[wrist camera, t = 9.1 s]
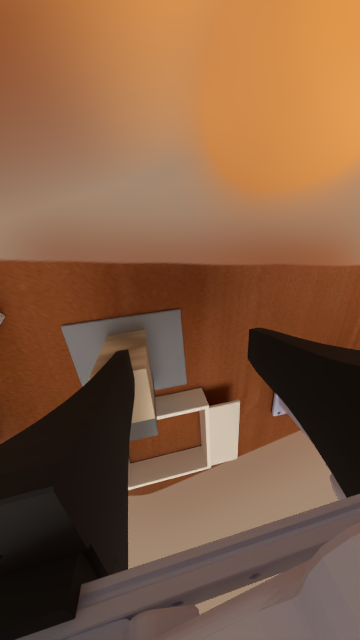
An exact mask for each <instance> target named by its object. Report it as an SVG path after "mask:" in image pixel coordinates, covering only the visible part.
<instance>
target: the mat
mask: <svg viewBox="0 0 360 640" xmlns="http://www.w3.org/2000/svg"><path fill="white" fill-rule="evenodd" d="M61 329H62V331H63V334H64V337H65V340H66V343H67V345H68V348H69V351H70V354H71V356H72V359H73V362H74V365H75V368H76V370H77V373H78V376H79V379H80V381H81V384H82V387H83V386H84V385H85V384H86V383H87V382H88V381H89V377H90V374H91V372H92V370H93V367H94V365H95V363H96V360H97V358H98V355H99V353H100V351H101V348H102V346H103V344H104V341H105V339H106V336H107V335H114V334H121V333H127V332H134V331H141V330H145V331H146V337H147V343H148V349H149V355H150V361H151V367H152V373H153V379H154V388H155V390H158V389H163V388H168V387H173V386H178V385H183V384H187V379H186V368H185V357H184V346H183V335H182V323H181V312H180V309H174V310H167V311H160V312H153V313H146V314H138V315H131V316H124V317H117V318H110V319H103V320H96V321H89V322H81V323H74V324H67V325H62V326H61Z"/></svg>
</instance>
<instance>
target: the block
mask: <svg viewBox="0 0 360 640" xmlns="http://www.w3.org/2000/svg"><path fill="white" fill-rule="evenodd" d="M126 349H128V351H129V355H130V360H131V364H132V369H133V373H134V378H135V399H134V407H133V415H132V423H131V431H130V441H134V440H138V439H142V438H147V437H151V436H156V435H158V426H157V414H156V401H155V388H154V379H153V373H152V367H151V361H150V355H149V349H148V343H147V337H146V331H145V330H141V331H134V332H127V333H121V334H114V335H107V336H106V339H105V341H104V344H103V346H102V348H101V351H100V353H99V355H98V358H97V360H96V363H95V365H94V367H93V370H92V372H91V374H90V377H89V380H90V379H91V378H92V377H93V376H94V375H95V374H96V373H97V372H98V371H99V370H100V369H101V368H102V367H103V366H104V365H105V364H106V362H107V361H108V360H109V359H110V358H111V357H112V356H113V355H114V353H115V352H116V351H120V350H126Z"/></svg>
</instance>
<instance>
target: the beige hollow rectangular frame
mask: <svg viewBox="0 0 360 640" xmlns="http://www.w3.org/2000/svg"><path fill="white" fill-rule="evenodd" d="M155 401H156V414H157V420H158V419H163V418H167V417H172V416H177V415H181V414H186V413H190V412H195V411H199V413H200V430H201V446H199V447H195V448H191V449H187V450H183V451H179V452H175V453H171V454H167V455H163V456H159V457H155V458H151V459H147V460H143V461H139V462H135V463H131V464H130V461H129V465H128V490H130V489H134V488H138V487H142V486H145V485H149V484H153V483H157V482H160V481H164V480H168V479H172V478H175V477H179V476H183V475H186V474H190V473H194V472H198V471H201V470H205V469H209V468H211V466H212V465H216V464H219V463H223V462H227V461H231V460H234V459H237V454H238V433H239V413H240V401H239V400H235V401H230V402H226V403H221V404H217V405H212V406H209V404H208V402H207V400H206V397H205V395H204V392H203V390H202V388H198V389H193V390H188V391H183V392H178V393H174V394H169V395H164V396H159V397H155Z"/></svg>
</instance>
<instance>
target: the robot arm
mask: <svg viewBox="0 0 360 640" xmlns="http://www.w3.org/2000/svg"><path fill="white" fill-rule="evenodd" d="M248 359H249V361H250V363H251V364H252V366H253V367H254V369H255V370H256V372H257V373H258V374H259V375H260V376H261V377H262V379H263V380H264V381H265V382H266V383H267V384H268V385H269V386H270V388H271V389H272V390H273V391H274V392H275V393H274V400H273V408H272V414H273V416H278V415H282V414H286V413H287V414H288V415H289V417H290V418H291V419H292V420H293V421H294V422H295V423H296V425H297V426H298V427H299V428H300V429H301V430H302V432H303V433H304V434H305V435H306V436H307V437H308V438H309V439H310V440H311V442H312V443H313V444H314V445H315V447H316V449H317V450H318V452H319V453H320V455H321V456H322V458H323V459H324V461H325V463H326V465H327V467H328V468H329V469H330V471H331V472H332V474H331V475H330V480H331V483H332V488H333V490H334V492H335V494H336V496H337V498H338V499H339V501H336V502H333V503H330V504H327V505H324V506H321V507H318V508H314V509H312V510H308V511H305V512H302V513H299V514H296V515H293V516H290V517H287V518H284V519H281V520H278V521H275V522H272V523H268V524H265V525H262V526H259V527H256V528H253V529H250V530H247V531H244V532H241V533H238V534H235V535H232V536H229V537H226V538H222V539H219V540H216V541H213V542H210V543H207V544H204V545H201V546H198V547H195V548H192V549H189V550H186V551H183V552H179V553H176V554H173V555H170V556H167V557H164V558H161V559H158V560H155V561H152V562H149V563H146V564H143V565H140V566H137V567H134V568H130V569H128V465H129V441H130V431H131V423H132V415H133V407H134V399H135V378H134V373H133V369H132V364H131V360H130V355H129V351H128V349H126V350H120V351H116V352H115V353H114V355H113V356H112V357H111V358H110V359H109V360H108V361H107V362H106V364H105V365H104V366H103V367H102V368H101V369H100V370H99V371H98V372H97V373H96V374H95V375H94V376H93V377H92V378H91V379H90V380H89V381H88V382H87V383H86V384H85V385H84V386H83V387H82V388H81V389H80V390H78V391H77V392H76V393H75V394H74V395H72V396H71V397H70V398H69V399H68V400H66V401H65V402H64V403H62V404H61V405H60V406H58V407H57V408H56V409H54V410H53V411H51V412H50V413H49V414H47V415H46V416H44V417H43V418H42V419H40V420H39V421H37V422H36V423H34V424H33V425H31V426H30V427H28V428H27V429H25V430H23V431H22V432H20V433H19V434H17V435H15V436H14V437H12V438H10V439H9V440H7V441H5V442H4V443H2V444H0V640H360V350H354V349H347V348H341V347H336V346H331V345H326V344H321V343H317V342H313V341H309V340H305V339H301V338H297V337H293V336H290V335H286V334H283V333H279V332H276V331H272V330H268V329H264V328H254V329H249V344H248ZM282 572H283V573H282ZM279 573H281V574H279ZM276 574H279V575H277V576H275V577H273V578H271V579H269V580H267V581H265V582H264V583H262V584H260V585H257V586H256V587H254V588H252V589H250V590H248V591H246V592H244V593H242V594H240V595H238V596H236V597H234V598H232V599H230V600H228V601H226V602H224V603H222V604H221V605H218V606H216V607H214V608H212V609H211V610H209V611H207V612H205V613H203V614H201V615H199V610H198V608H197V607H196V606H195V604H198V603H201V602H203V601H206V600H209V599H212V598H214V597H217V596H219V595H222V594H225V593H228V592H231V591H233V590H236V589H239V588H241V587H244V586H246V585H249V584H252V583H255V582H257V581H260V580H263V579H265V578H268V577H271V576H274V575H276Z"/></svg>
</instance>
